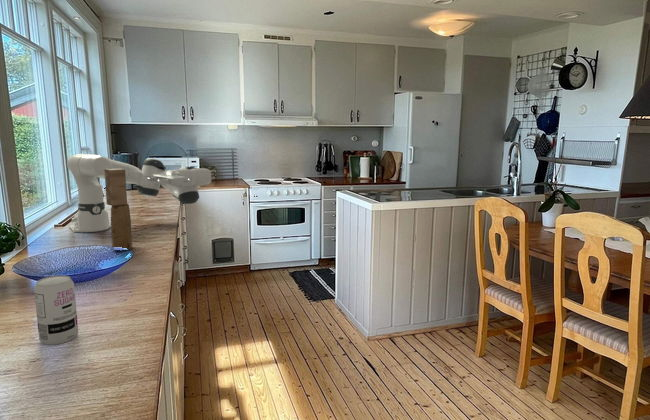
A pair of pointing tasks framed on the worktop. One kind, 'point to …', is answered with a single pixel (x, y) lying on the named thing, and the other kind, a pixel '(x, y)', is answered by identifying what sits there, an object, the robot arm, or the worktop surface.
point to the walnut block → (115, 187)
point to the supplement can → (56, 310)
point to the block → (121, 226)
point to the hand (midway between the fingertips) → (152, 181)
